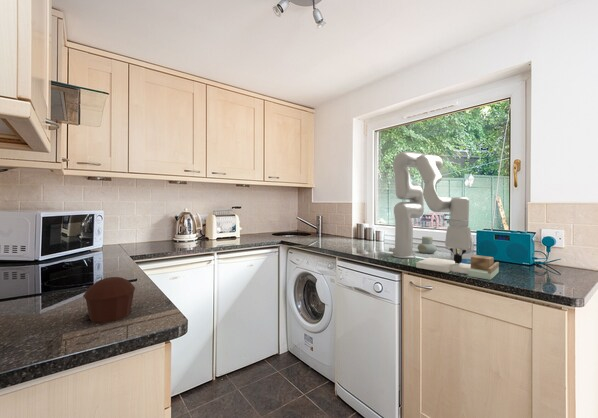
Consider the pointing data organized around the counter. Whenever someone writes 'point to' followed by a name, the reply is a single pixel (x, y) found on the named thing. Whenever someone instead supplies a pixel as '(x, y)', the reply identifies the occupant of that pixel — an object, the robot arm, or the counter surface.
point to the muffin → (109, 299)
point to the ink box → (465, 255)
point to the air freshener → (427, 246)
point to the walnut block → (481, 262)
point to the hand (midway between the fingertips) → (457, 263)
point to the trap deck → (457, 267)
